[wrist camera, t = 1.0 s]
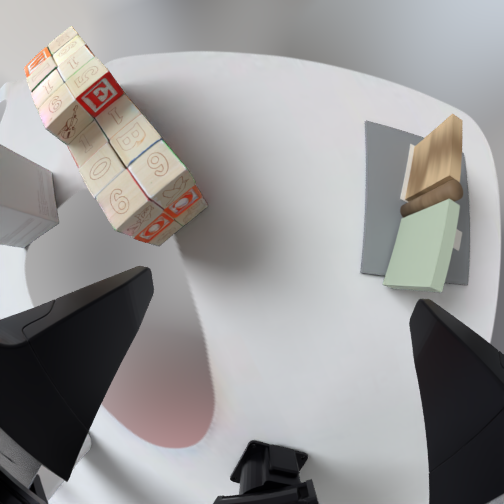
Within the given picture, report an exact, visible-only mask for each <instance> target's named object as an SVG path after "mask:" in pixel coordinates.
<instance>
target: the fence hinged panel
mask: <svg viewBox="0 0 504 504" xmlns="http://www.w3.org/2000/svg"><path fill="white" fill-rule="evenodd" d="M459 209H460V205H458V204H457V203H455V202H454V201H452V200H451V199H447V200H445V201H442V202H440V203H438V204H435V205H433V206H431V207H428V208H426V209H423V210H421V211H419V212H416V213H414V214H411V215H409V216H407V217H404V218H402V219H401V223H400V227H399V231H398V234H397V238H396V242H395V245H394V249H393V252H392V256H391V259H390V263H389V266H388V269H387V272H386V275H385V279H384V282H383V285H385V286H387V287H390V288H392V289H403V290H415V291H429V292H442V290H443V287H444V283H445V279H446V275H447V271H448V267H449V263H450V259H451V254H452V250H453V245H454V240H455V234H456V229H457V223H458V216H459Z"/></svg>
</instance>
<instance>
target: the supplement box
mask: <svg viewBox="0 0 504 504" xmlns="http://www.w3.org/2000/svg"><path fill="white" fill-rule="evenodd" d="M57 224H59V219H58V213H57V207H56V200H55V193H54V186H53V178H52V172H51V171H49V170H47V169H45V168H44V167H42V166H40V165H38V164H36V163H34V162H32V161H30V160H28V159H26V158H25V157H23V156H21V155H19V154H17V153H15V152H13V151H12V150H10V149H8V148H6V147H4V146H2V145H0V244H1V245H8V246H14V247H21V248H24V247H26V246H27V245H29V244H30V243H31V242H33V241H34V240H36V239H37V238H38V237H40V236H41V235H43V234H44V233H46V232H47V231H48V230H50V229H51V228H53V227H54V226H56V225H57Z"/></svg>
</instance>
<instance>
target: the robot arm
mask: <svg viewBox="0 0 504 504" xmlns="http://www.w3.org/2000/svg"><path fill="white" fill-rule="evenodd" d="M153 293H154V286H153V280H152V273H151V270H150V268H148V267H143V266H137V267H135V268H132V269H130V270H127V271H124V272H122V273H119V274H117V275H114V276H112V277H109V278H107V279H104V280H102V281H99V282H96V283H94V284H92V285H89V286H87V287H84V288H81V289H79V290H76V291H74V292H72V293H69V294H67V295H64V296H62V297H60V298H57V299H56V300H52V301H50V302H48V303H45V304H42V305H40V306H37V307H35V308H32V309H29V310H27V311H24V312H21V313H18V314H15V315H13V316H10V317H7V318H4V319H1V320H0V504H48V501H47V498H46V495H45V492H44V489H43V486H42V483H41V479H40V476H39V475H38V474H37V473H38V471H39V469H40V467H41V465H42V466H44V467H45V468H46V469H48V470H49V471H51V472H52V473H54V474H55V475H57V476H58V477H60V478H62V479H63V480H65V481H66V482H67V481H68V480H69V478H70V475H71V473H72V470H73V468H74V465H75V463H76V460H77V458H78V455H79V453H80V450H81V448H82V446H83V443H84V441H85V439H86V437H87V434H88V432H89V431H88V430H89V429H90V427H91V425H92V423H93V420H94V418H95V416H96V414H97V412H98V409H99V407H100V405H101V403H102V401H103V399H104V397H105V395H106V393H107V390H108V388H109V386H110V384H111V382H112V380H113V378H114V376H115V374H116V372H117V370H118V368H119V366H120V364H121V362H122V360H123V358H124V356H125V355H126V353H127V351H128V349H129V347H130V345H131V343H132V341H133V339H134V338H135V336H136V334H137V332H138V330H139V327H140V325H141V323H142V320H143V318H144V315H145V313H146V310H147V308H148V306H149V303H150V301H151V298H152V296H153ZM409 325H410V332H411V339H412V347H413V356H414V363H415V368H416V373H417V378H418V384H419V389H420V395H421V401H422V407H423V414H424V422H425V430H426V439H427V449H428V463H429V472H430V473H429V504H504V354H502V353H501V352H500V351H499V352H498V350H497V349H496V348H494V347H493V346H492V345H491V344H490V343H488V342H487V341H486V340H485V339H483V338H482V337H481V336H479V335H478V334H477V333H475V332H474V331H473V330H471V329H470V328H469V327H467V326H466V325H465V324H463V323H462V322H461V321H459V320H458V319H457V318H455V317H454V316H453V315H451V314H450V313H448V312H447V311H446V310H444V309H443V308H441V307H440V306H439V305H437V304H436V303H434V302H433V301H432V300H430V299H419V300H418V301H417V304H416V306H415V308H414V311H413V313H412V315H411V318H410V322H409ZM252 444H255V446H252ZM303 456H305V457H304V458H301V457H303ZM307 459H308V455H307V454H306V453H303V452H299V451H294V450H293V449H289V448H284V447H280V446H276V445H270V444H266V443H262V442H259V441H255V440H252V441H250V442H249V443H248V445H247V447H246V449H245V451H244V453H243V455H242V456H241V458H240V460H239V462H238V464H237V465H236V467H235V469H234V471H233V472H232V474H231V476H230V480H231V481H233V482H236V483H240V489H239V495H233V496H218V497H217V498H216V500H215V501H214V503H213V504H319V502H318V499H317V495H316V492H315V488H314V485H313V482H312V479H311V480H307V481H306V482H303V483H301V481H300V477H299V473H300V472H299V471H300V470H301V468H302V467H303V465H304V464H305V462H306V461H307Z"/></svg>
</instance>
